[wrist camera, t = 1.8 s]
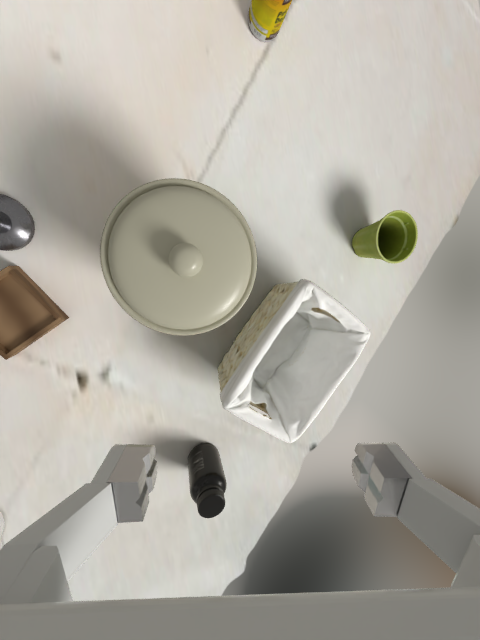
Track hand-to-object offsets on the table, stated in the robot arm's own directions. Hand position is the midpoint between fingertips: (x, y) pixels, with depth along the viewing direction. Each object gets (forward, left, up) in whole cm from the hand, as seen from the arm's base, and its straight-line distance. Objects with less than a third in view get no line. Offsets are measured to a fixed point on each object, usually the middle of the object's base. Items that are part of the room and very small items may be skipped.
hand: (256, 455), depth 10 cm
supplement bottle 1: (-18, -27, -39) cm, 50 cm away
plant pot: (+38, -10, -39) cm, 55 cm away
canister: (+3, +8, -39) cm, 40 cm away
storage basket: (+9, -15, -39) cm, 42 cm away
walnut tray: (-23, +17, -38) cm, 48 cm away
